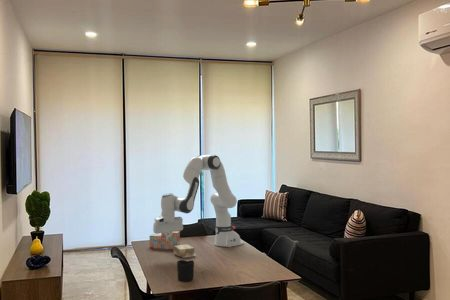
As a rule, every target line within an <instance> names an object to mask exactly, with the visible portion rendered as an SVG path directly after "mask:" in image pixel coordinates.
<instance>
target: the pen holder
mask: <svg viewBox="0 0 450 300" xmlns="http://www.w3.org/2000/svg"><path fill="white" fill-rule="evenodd" d="M176 265H177V266H176V269H177V281H179V282H183V283H187V282H188V283H189V282H192V281H193V280H194V277H195V275H194V274H195V261H194V260H192V259H191V260H188V261H187V260H184V259H183V260H182V259H180V260H179V259H178V261H177V262H176Z"/></svg>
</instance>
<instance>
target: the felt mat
mask: <svg viewBox="0 0 450 300" xmlns="http://www.w3.org/2000/svg"><path fill="white" fill-rule="evenodd" d="M196 256H197V254H195V253H194V255H192V256H185V257H181V258H191V257H196Z"/></svg>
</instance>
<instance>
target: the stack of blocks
mask: <svg viewBox="0 0 450 300" xmlns="http://www.w3.org/2000/svg"><path fill="white" fill-rule="evenodd" d="M167 233H168V234H167V235H168V236H169V235H170V232H167ZM180 234H181V230H180V231H173V234H172V235H171V238H170V239H166V235H165V234H164V233H158V234H155V233H152V234H150V235H149V248H150V249H161V250H174V246H177V245H181V243H180V242H181V241H180V240H181V235H180Z"/></svg>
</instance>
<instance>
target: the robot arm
mask: <svg viewBox="0 0 450 300" xmlns="http://www.w3.org/2000/svg"><path fill="white" fill-rule="evenodd" d="M208 170H209V172H210V178H211V184H212V187H213V188H214V190H215V191H216V192H213V193H212V194H211V195H210V203H211V204H212V206H213V209H214V212H215V213H214V214H215V238H214V241H213V242H214V243H213V245H214V246H217V247H227V248H231V247H236V246H240V245H244V243H245V242H244V241H242V240H241V237H240V236H241V235H239V233H237V232H236V231H234V230H235V229H236V226H234V225H232V224H231V223H232V215H231V214H230V211H229V210H228V209H232V208H234V207H236V205H237V203H238V199H237V197H236V196H235V194H233V192H232V190H231V188H230V186H229V183H228V178H227V175H226V170H225V167H224V164H223V162H222V161H221V159H220V157H219V156H218V155H216V154H204V155H202V154H201V155H198V156H193V157H192V158H191V159H190V160H189V161H188V163H187V165H186V167H185V169H184V171H183V174H182V175H183V177H182V178H183V180H184V181H185V182H186V183H187V184H189V188H188V191H187V194H186V196H185V197H180V196H177V195H175V194H173V193H171V192H168V193H164V194H163V195H162V196H161V200H160V205H161V206H160V207H161V213H160V214H161V215H159V216H156V217H155V218H154V222H153V228H152V230H153V234H161V233H164V234H165V235H166V239H170V238H171V235H172V234H173V231H180V232H181V231H183V229H184V224H183V223H184V222H183V219H184V218H183V217H181V216H176V215H175V212H180V213H183V214H190V213H191V212H192V211H193V210H194V207H195V201H196V197H197V193H198V190H199V186H200V175H201V173H202V171H208ZM167 232H170V235H169V236H168V235H167V234H168V233H167Z"/></svg>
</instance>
